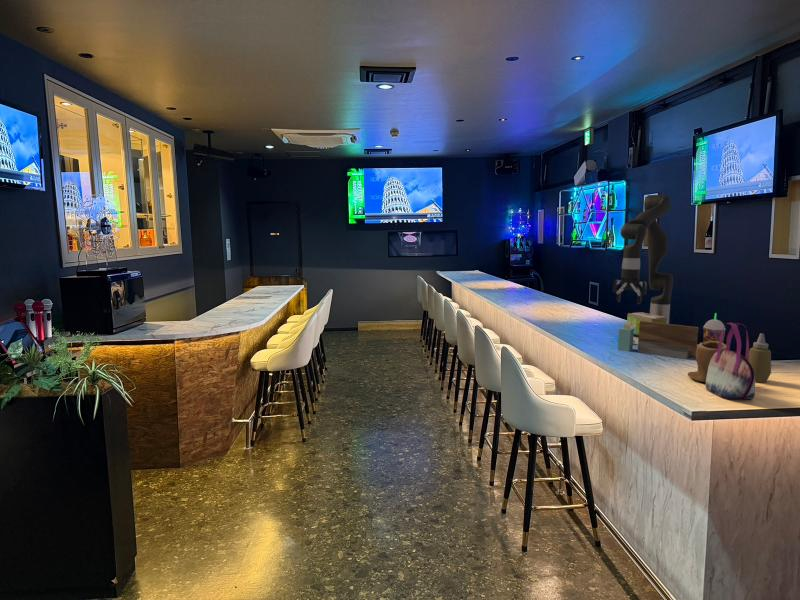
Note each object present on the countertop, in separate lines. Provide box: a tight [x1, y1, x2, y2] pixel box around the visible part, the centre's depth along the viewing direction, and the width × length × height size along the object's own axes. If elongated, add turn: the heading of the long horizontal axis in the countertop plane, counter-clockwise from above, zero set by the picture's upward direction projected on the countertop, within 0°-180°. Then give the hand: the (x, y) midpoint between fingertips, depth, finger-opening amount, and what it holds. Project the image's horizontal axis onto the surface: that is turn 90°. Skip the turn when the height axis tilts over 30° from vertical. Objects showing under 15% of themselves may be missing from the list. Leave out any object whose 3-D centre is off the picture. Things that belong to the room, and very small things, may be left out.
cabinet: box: [617, 324, 634, 352], centre depth 244 cm, size 6×5×12 cm
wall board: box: [637, 321, 699, 360], centre depth 237 cm, size 10×24×13 cm, turn 51°
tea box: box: [626, 311, 667, 346], centre depth 255 cm, size 15×10×15 cm, turn 25°
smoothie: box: [702, 312, 726, 343], centre depth 229 cm, size 8×8×20 cm
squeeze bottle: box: [749, 333, 772, 383], centre depth 195 cm, size 8×8×18 cm
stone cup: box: [687, 341, 726, 383], centre depth 194 cm, size 15×12×15 cm
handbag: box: [705, 322, 756, 400], centre depth 179 cm, size 21×10×25 cm, turn 2°
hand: (628, 303), depth 242 cm, fingers open, 8 cm apart
